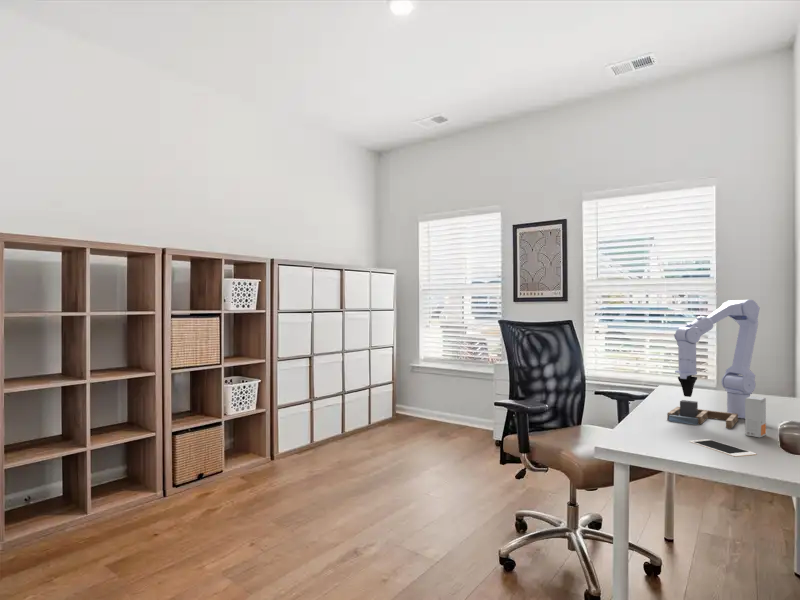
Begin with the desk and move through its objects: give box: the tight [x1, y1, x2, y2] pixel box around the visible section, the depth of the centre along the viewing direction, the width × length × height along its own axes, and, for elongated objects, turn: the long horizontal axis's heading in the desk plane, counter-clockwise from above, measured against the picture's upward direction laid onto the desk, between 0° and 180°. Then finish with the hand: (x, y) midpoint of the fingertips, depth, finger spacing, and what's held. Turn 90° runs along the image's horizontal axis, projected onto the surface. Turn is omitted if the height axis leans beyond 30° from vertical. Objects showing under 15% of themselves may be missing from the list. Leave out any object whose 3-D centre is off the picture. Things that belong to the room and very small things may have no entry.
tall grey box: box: [679, 399, 699, 418], centre depth 180 cm, size 4×5×6 cm
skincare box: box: [744, 395, 767, 438], centre depth 157 cm, size 6×4×12 cm
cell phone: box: [688, 438, 757, 458], centre depth 143 cm, size 8×16×1 cm, turn 13°
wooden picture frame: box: [666, 406, 739, 429], centre depth 177 cm, size 17×20×2 cm
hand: (687, 396), depth 180 cm, fingers closed
